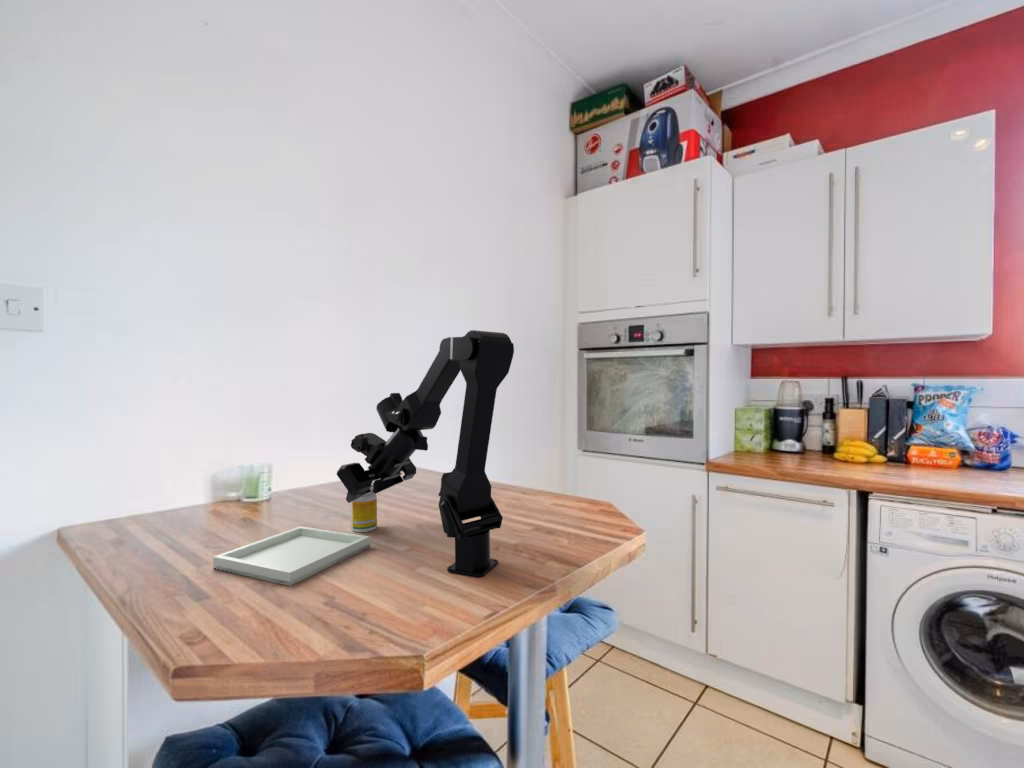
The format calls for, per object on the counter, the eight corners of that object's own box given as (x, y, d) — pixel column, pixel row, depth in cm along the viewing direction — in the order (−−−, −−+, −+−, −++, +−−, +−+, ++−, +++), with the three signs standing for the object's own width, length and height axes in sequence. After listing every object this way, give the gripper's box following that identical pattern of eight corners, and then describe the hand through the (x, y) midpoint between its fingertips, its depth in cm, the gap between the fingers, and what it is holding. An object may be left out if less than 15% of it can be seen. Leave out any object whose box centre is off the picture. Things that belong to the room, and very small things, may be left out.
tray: (289, 585, 70) (289, 572, 70) (213, 568, 77) (213, 556, 77) (370, 547, 86) (370, 536, 86) (300, 535, 93) (300, 526, 93)
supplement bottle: (347, 528, 98) (346, 484, 98) (371, 523, 101) (370, 480, 101) (356, 534, 94) (355, 488, 94) (381, 529, 97) (380, 484, 97)
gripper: (405, 417, 104) (369, 462, 109) (343, 424, 88) (303, 477, 92) (434, 453, 101) (395, 498, 106) (375, 467, 84) (332, 520, 89)
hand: (358, 497), depth 98 cm, fingers open, 6 cm apart
